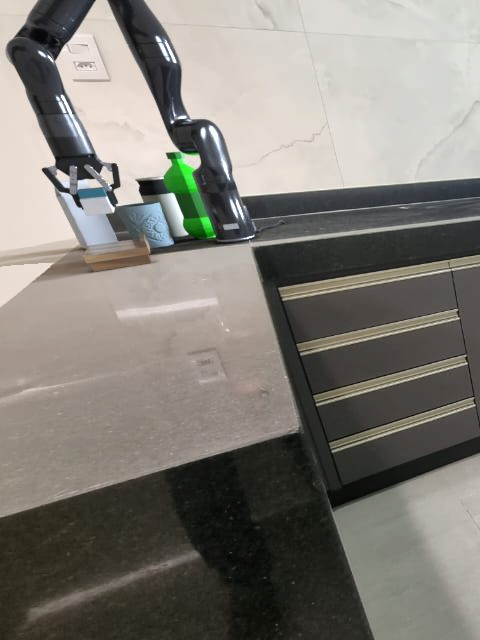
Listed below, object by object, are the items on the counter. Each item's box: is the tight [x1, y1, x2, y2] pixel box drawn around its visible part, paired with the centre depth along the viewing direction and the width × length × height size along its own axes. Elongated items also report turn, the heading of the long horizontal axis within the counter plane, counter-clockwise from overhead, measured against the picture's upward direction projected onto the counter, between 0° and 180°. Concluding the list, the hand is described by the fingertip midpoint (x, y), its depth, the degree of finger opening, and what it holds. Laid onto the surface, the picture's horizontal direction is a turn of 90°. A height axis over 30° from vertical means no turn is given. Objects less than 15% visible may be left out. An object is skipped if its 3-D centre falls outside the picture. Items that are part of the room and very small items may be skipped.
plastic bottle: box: [163, 151, 216, 240], centre depth 161 cm, size 10×10×25 cm
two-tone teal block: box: [77, 186, 116, 216], centre depth 132 cm, size 12×5×6 cm, turn 42°
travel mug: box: [134, 175, 190, 239], centre depth 166 cm, size 8×8×18 cm
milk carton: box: [53, 179, 119, 250], centre depth 155 cm, size 7×7×19 cm
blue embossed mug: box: [114, 202, 175, 249], centre depth 154 cm, size 10×10×12 cm
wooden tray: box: [82, 232, 153, 273], centre depth 137 cm, size 18×12×6 cm, turn 41°
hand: (99, 207), depth 133 cm, fingers closed on two-tone teal block, 5 cm apart
